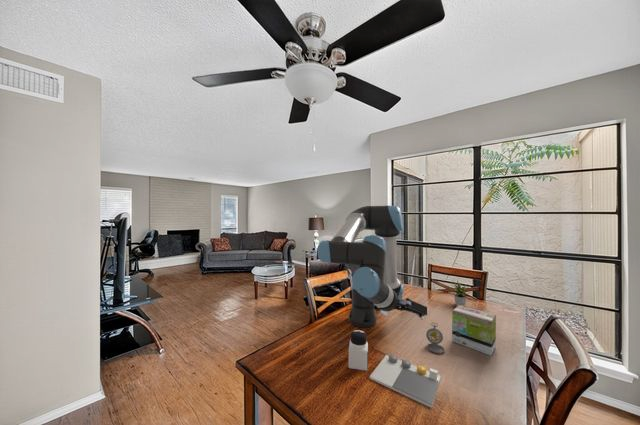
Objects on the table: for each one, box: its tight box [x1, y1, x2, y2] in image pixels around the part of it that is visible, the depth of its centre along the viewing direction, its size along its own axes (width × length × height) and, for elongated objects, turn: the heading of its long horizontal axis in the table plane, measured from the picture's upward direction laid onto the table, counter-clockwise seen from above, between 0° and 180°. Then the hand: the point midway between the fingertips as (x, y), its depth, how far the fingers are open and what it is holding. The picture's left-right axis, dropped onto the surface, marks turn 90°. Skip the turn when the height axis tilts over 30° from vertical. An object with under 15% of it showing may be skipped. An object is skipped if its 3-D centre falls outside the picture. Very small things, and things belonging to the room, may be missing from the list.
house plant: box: [448, 279, 473, 307], centre depth 149 cm, size 14×14×16 cm
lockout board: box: [369, 354, 442, 409], centre depth 81 cm, size 20×16×3 cm
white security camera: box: [348, 329, 369, 372], centre depth 89 cm, size 7×7×12 cm
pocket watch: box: [425, 322, 445, 355], centre depth 99 cm, size 8×8×10 cm
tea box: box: [451, 305, 497, 357], centre depth 103 cm, size 15×10×15 cm
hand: (403, 314), depth 87 cm, fingers open, 13 cm apart
